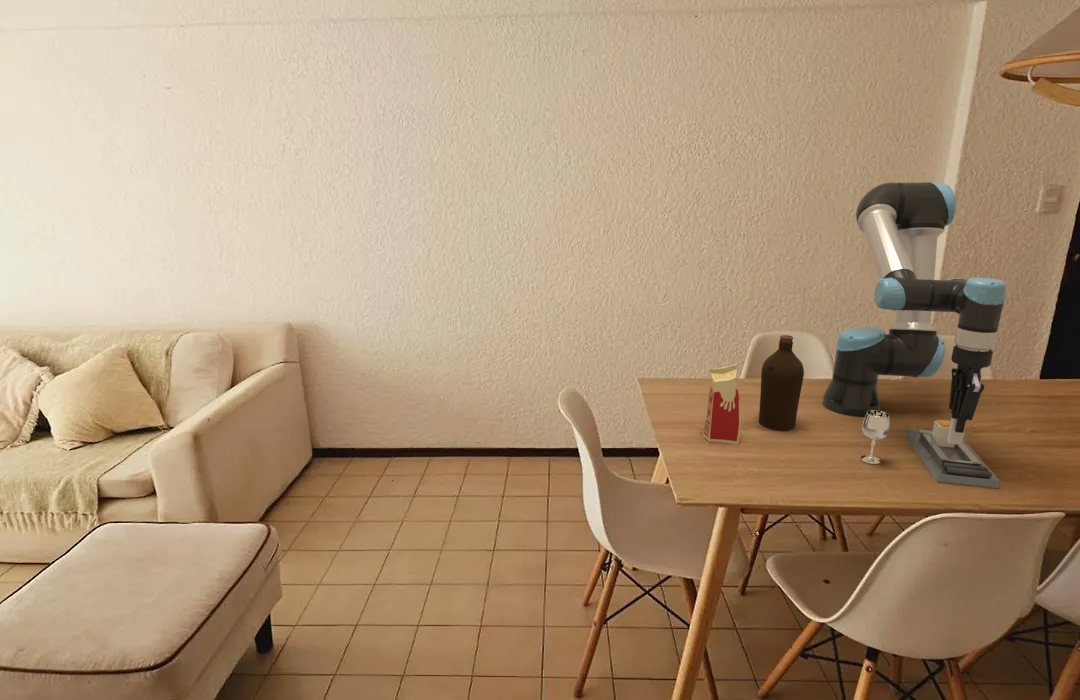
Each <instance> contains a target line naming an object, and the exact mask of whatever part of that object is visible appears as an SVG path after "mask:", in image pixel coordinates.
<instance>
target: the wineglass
mask: <svg viewBox="0 0 1080 700" xmlns="http://www.w3.org/2000/svg"><path fill="white" fill-rule="evenodd" d="M890 428H891V419H890V415H889V414H888V413H887V412H885V411H882V410H880V411H878V410H869V411H867V413H866V415H865V416H864V418H863V421H862V426H861V429H862V433H863V435H865V436H866V437H867V438H869V439H870V440H871V439H872V440H871V441H870V446H871V447H870V448H871V449H870V453H869V455H866V454H864V455H861V456H860V457H859V458H860V460H861V461H862V462H863V463H867V464H870V465H871V464H872V465H877V464H878V465H879V464H881V462H882V461H881V459H880V458H878V457H877V456H874V455H873V452H874V448H875V446H876V444H877V440H883V439H884V438H886V437H887V436H888V435H889V432H890Z"/></svg>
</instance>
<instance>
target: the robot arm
mask: <svg viewBox="0 0 1080 700" xmlns="http://www.w3.org/2000/svg"><path fill="white" fill-rule="evenodd" d="M956 206H957V205H956V196H955V194H954V191H953V189H952V188H951V187H950V186H949V185H948V184H946V183H942V182H940V183H939V182H932V181H930V182H929V181H928V182H896V181H895V182H892V181H891V182H884V183H881V184H879V185H877V186H875V187H873V188H871V189H870V190H868V191H867V192H866V193H865V194H864V196H863V197H862V198H861V199H860V201H859V202H858V205H857V207H856V210H855V211H856V212H855V220H856V223H857V226H858V228H859V230H860V231H862V233H864V234H865V237H866V240H867V244H868V246H869V250H870V252H871V255H872V258H873V261H874V263H875V264H874V265H875V267H876V270H877V273H878V276H879V280H878V281H877V283H876V285H875V288H874V303H875V305H876V306H877V308H879V309H882V310H891V311H896V315H895V317H896V318H895V322H894V323H893V324H892V325H891V326H890V327H889V330H888V334H886V331H885V330H884V329H882V328H879V327H871V326H857V327H850V328H847V329H845V330H843V331H841V332H840V333H839V335H838V338H837V339H838V340H837V344H836V347H835V349H836V350H835V351H836V352H835V358H834V365H833V373H832V379H831V381H830V383H829V384H828V386H827V388H826V390H825V392H824V394H823V398H822V405H823V407H825V408H827V409H829V410H831V411H833V412H836V413H839V414H843V415H848V416H853V417H854V416H855V417H865V415H866V413H867V411H869V410H878V411H881V410H880V409H881V400H880V394H879V390H878V379H879V376H895V377H896V376H897V377H908V378H909V377H912V378H928V377H932V376H933V375H935V374H936V373H937V372H938V370H940V368H941V366H942V364H943V362H944V359H945V353H946V346H945V345H944V344H945V340H944V339H943V338H942V337H941V336H938V334H937V333H938V330H937V328H936V327H934V326H933V324H932V314H933V312H939V313H940V312H944V313H956V314H958V315H959V317H958V321H957V326H956V331H955V334H954V335H955V336H954V341H953V343H954V344H955V345H954V346H953V348H952V354H951V357H950V359H951V361H952V363H954V364H957V366H956V367H957V368H954V367H953V368H951V383H950V395H949V403H948V408H949V410H951V411H950V413H951V419H950V421H951V423H950V428H949V433H948V438H947V442H948V443H949V444H958V445H962V442H963V439H964V437H965V433H966V432H965V431H966V429H967V423H968V421H973V418H974V415H975V413H976V409H977V407H978V404H979V401H980V397H981V394H982V392H983V391H984V390H985V384H983V383H980V382H981V380H982V374H981V370H982V369H985V368H989V367H990V366H991V364H992V359H993V354H994V351H993V350H992V349H994V347H995V344H996V340H997V339H998V338H999V334H998V331H999V330H998V329H999V326H1000V325H999V324H1000V321H1001V317H1002V312H1003V307H1004V305H1005V304H1004V303H1005V300H1006V289H1007V283H1006V282H1005V281H1004V280H1001V279H996V278H989V277H970V278H969V279H965V278H958V277H951V278H947V279H935V276H936V273H935V272H936V263H937V262H936V260H937V251H938V250H937V247H938V238H939V236H941V235H942V234H943V233H944V232H945V229H946V226H949V225H950V224H951V223H952V222H953V221H954V216H955V215H956Z"/></svg>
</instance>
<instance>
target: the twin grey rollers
mask: <svg viewBox="0 0 1080 700" xmlns="http://www.w3.org/2000/svg"><path fill="white" fill-rule="evenodd" d="M943 468H944V469H946V471H947V473H950V474H959V475H968V476H977V477H986V478H990V477H992V473H991V472H989V471H988V468H989V467H988V468H986V467H981V466H972V465H962V464H953V463H944V464H943Z"/></svg>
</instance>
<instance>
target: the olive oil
mask: <svg viewBox="0 0 1080 700" xmlns="http://www.w3.org/2000/svg"><path fill="white" fill-rule="evenodd" d="M793 340H794V336H792V335H788V334H782V335H781V334H780V337H779V341H778V349H777V350H776V351H774V352H773V353H772V354H770V356H768V357H767V358H765V360H764V362H763V365H762V367H761V374H760V375H761V378H760V399H759V409H758V410H759V412H758V424H759V425H760V426H762V427H764V428H766V429H769V430H772V431H781V432H784V431H786V432H787V431H791V430H793V429H794V428H795V427H796V422H797V414H798V409H799V403H800V398H801V391H802V386H803V381H804V377H805V371H804V365H803V363H802V361H801V359H799V358H798V357H797V355H796V354H795V353H794V351H793V345H794V341H793Z"/></svg>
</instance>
